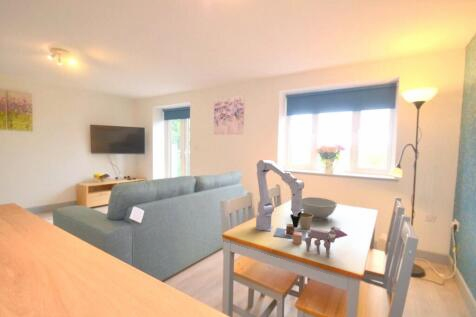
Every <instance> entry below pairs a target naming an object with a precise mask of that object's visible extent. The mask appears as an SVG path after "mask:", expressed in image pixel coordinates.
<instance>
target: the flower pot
mask: <svg viewBox="0 0 476 317" xmlns="http://www.w3.org/2000/svg"><path fill="white" fill-rule="evenodd" d="M300 216H301V218H300V219H299V228H300V229H302V230H311V225H312V220H313V219H312V217H313V215H312V214H310V213H304V212H301V214H300Z"/></svg>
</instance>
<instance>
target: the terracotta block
mask: <svg viewBox="0 0 476 317" xmlns="http://www.w3.org/2000/svg"><path fill="white" fill-rule="evenodd" d="M302 243H303V240H302V233H301V232H294V233H293V239H292V244H294V245H295V244H296V245H302Z"/></svg>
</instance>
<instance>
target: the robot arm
mask: <svg viewBox="0 0 476 317" xmlns="http://www.w3.org/2000/svg"><path fill="white" fill-rule="evenodd" d="M270 171H273V172H274V173H275V174H276V175H278V176H280V177H281V181H283V183H285V184H286V185H288V186H289V189H290V193H291V204H290V205H291V206H290V211H291V213H290V215H289V216H290V218H291V219H290V220H291V222H292V224H293V227H295V229H296V228H298V226H299V224H300V220H299V219H300V218H301V216H300V214H301V213H303V211H304V209H302V198H303V189H304V188H305V182H304V181H303V180H302V179H298V178H297V177H295V176H294V175H292V173H291V172H289V171H284V170H283V169H282V168H281V167H280V166H279V165H278V164H276V162H275V161H274V160H273V159H261V160H259V161H257V163H256V177H257V184H258V186H257V187H258V192H259V198H260V199H259V200H260V201H258V203H257V214H256V218H255V222H256V224H255V230H259V231H266V232H267V231H268V232H271V231H272V229H273V225H272V215H273V213H274V212H275V207H274V205H273V201H272V200H271V199H270V196H269V190H268V184H267V183H268V182H267V176H266V175H267V174H268V173H269V172H270Z"/></svg>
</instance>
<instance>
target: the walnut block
mask: <svg viewBox="0 0 476 317" xmlns="http://www.w3.org/2000/svg"><path fill="white" fill-rule="evenodd" d="M285 226H286V228H285V229H286V234H288V235H293V233H294V232H295V230H296V228H295V227H293V223H286V225H285Z"/></svg>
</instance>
